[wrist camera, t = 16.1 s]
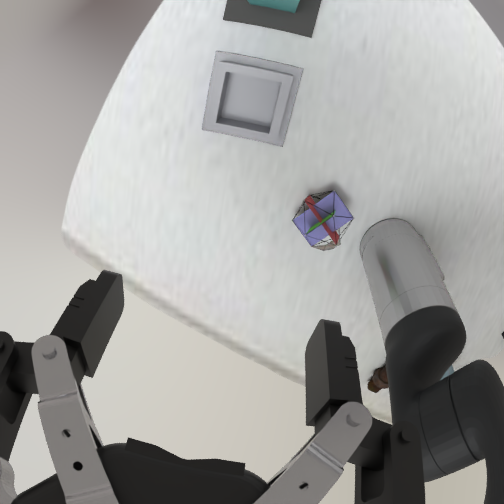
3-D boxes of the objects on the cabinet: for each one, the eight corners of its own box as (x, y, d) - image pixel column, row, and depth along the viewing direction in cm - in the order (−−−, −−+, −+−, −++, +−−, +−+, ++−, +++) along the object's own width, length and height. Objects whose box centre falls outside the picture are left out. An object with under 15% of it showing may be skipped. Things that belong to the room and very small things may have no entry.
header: (302, 68, 32) (304, 70, 30) (282, 145, 38) (282, 154, 35) (216, 51, 32) (210, 51, 29) (202, 128, 38) (195, 136, 35)
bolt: (367, 373, 68) (404, 335, 59) (384, 384, 66) (423, 348, 57) (359, 391, 63) (398, 353, 54) (376, 402, 62) (417, 367, 53)
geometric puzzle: (274, 202, 41) (300, 256, 37) (317, 169, 37) (349, 223, 34) (301, 215, 46) (325, 263, 43) (340, 188, 43) (368, 236, 40)
